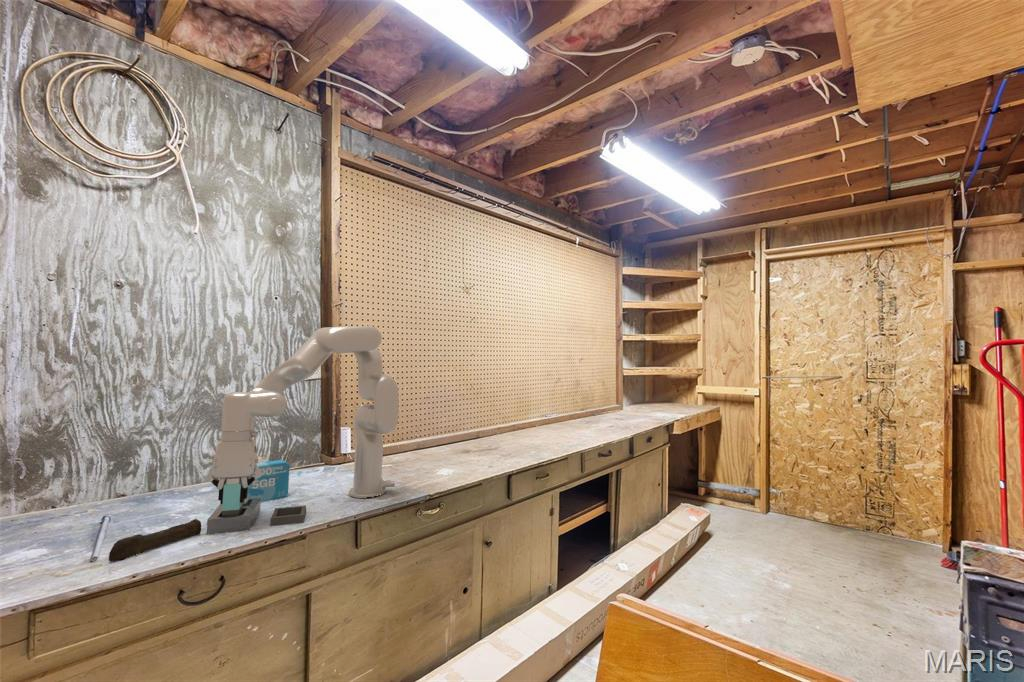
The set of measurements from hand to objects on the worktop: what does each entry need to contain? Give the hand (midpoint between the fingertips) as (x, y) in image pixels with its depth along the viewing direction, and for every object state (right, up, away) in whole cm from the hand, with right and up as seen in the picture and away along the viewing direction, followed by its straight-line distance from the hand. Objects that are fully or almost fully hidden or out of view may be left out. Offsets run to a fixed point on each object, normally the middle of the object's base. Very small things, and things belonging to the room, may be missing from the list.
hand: (232, 501), depth 120 cm
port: (-2, -7, +4) cm, 8 cm away
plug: (0, -3, 0) cm, 3 cm away
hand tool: (-10, -7, -13) cm, 18 cm away
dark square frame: (+12, -8, +7) cm, 16 cm away
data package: (-4, -8, +24) cm, 26 cm away
